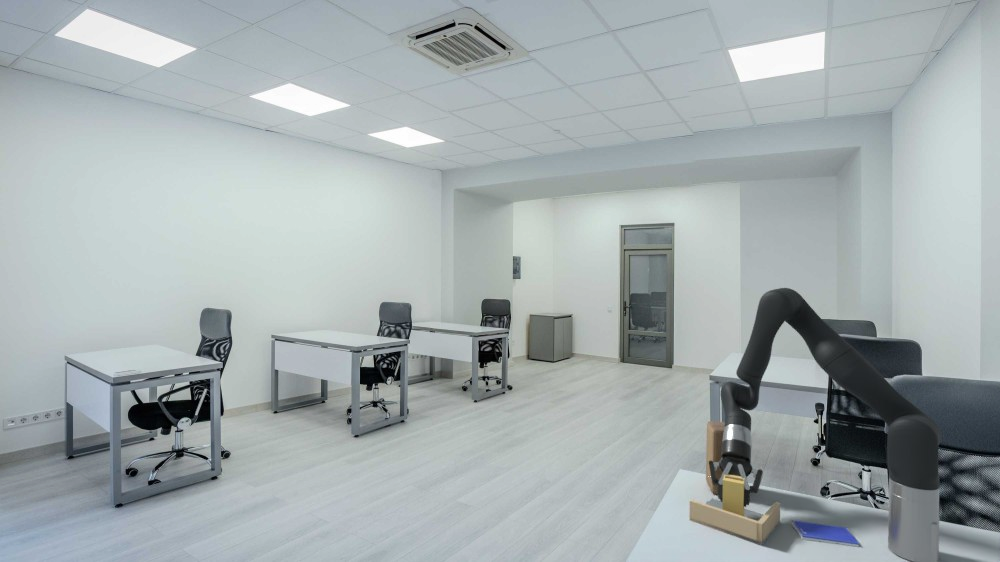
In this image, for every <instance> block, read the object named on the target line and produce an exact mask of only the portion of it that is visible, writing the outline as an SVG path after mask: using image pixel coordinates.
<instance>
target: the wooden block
mask: <svg viewBox="0 0 1000 562" xmlns="http://www.w3.org/2000/svg"><path fill="white" fill-rule="evenodd" d="M724 427H725V421H712V420H711V421H707V423H706V445H705V446H706V448H705V449H706V453H705V454H706V455H705V456H706V457H705V459H706V460H705V462H706V463H705V464H706V465H705V468H706V469H705V472H706V473H705V480H706V483H707V485H708V487H709V490H710V491H711V493H712V494H713V495H718V486H716V485H713V484H712V479H711V477H710V476H711V473H710V468H709V461H713V462H719V461H720V459H721V453H722V440H723V432H724ZM722 473H723V471H722V470H721V468H720V467H718V468H717V470H716V471H715V475H716V479H718V480H720V478H721V476H722ZM708 476H709V477H708ZM746 478H747V479H748V476H747V477H746Z"/></svg>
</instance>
